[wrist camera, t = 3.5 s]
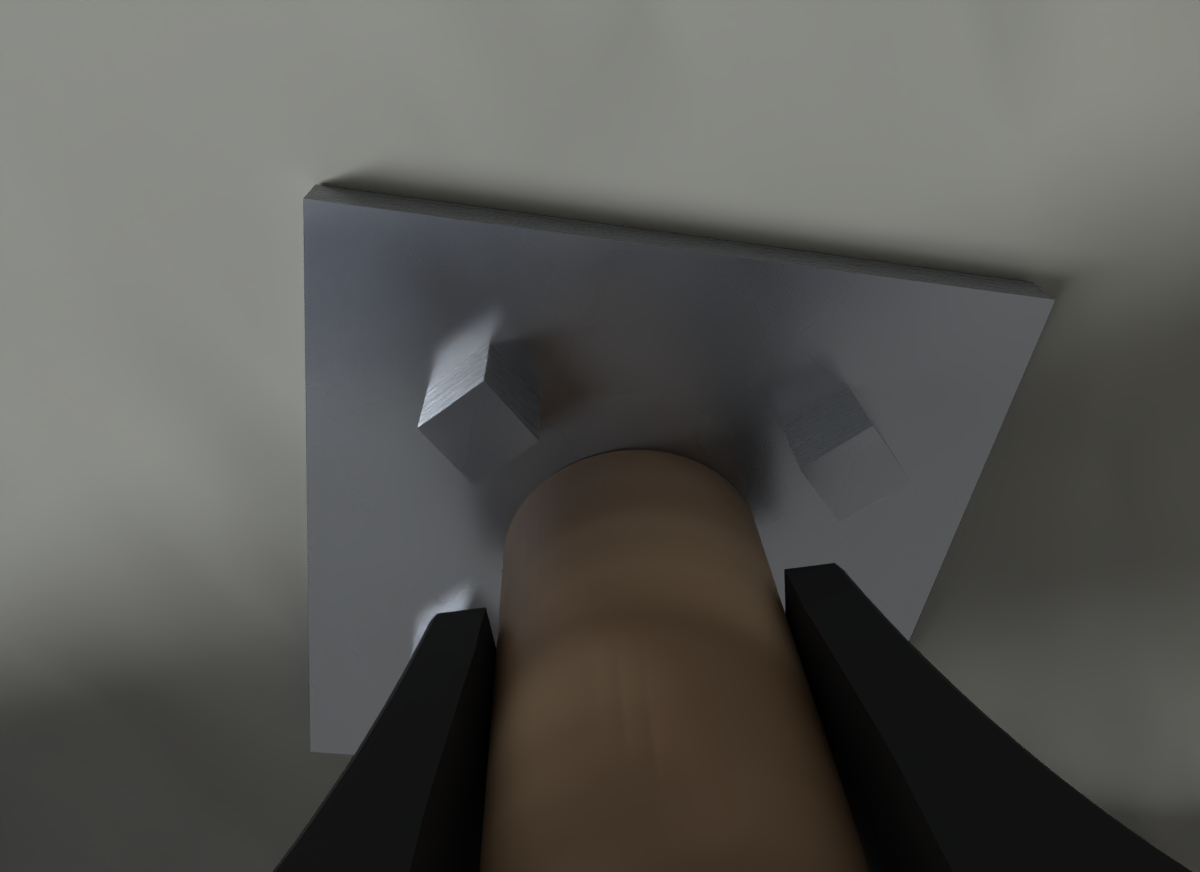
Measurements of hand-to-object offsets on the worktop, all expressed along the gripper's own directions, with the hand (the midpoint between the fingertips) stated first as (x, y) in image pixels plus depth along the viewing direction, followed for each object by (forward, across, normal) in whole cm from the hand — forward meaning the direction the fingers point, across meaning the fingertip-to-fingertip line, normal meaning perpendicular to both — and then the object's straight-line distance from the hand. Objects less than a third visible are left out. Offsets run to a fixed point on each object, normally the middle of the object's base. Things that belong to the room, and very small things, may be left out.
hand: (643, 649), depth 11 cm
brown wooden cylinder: (+2, 0, 0) cm, 2 cm away
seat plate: (+2, 0, 0) cm, 2 cm away
